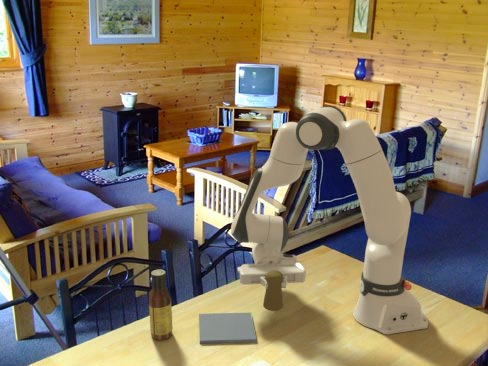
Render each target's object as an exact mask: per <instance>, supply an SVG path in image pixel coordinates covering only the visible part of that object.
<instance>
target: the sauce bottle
mask: <svg viewBox="0 0 488 366" xmlns="http://www.w3.org/2000/svg"><path fill="white" fill-rule="evenodd" d="M166 273H167V272H166V271H165V270H164V269H155V270H152V271H151V273H150V277H151V283H152V285H151V286H152V287H151V290H150V291H149V294H148V311H149V324H150V325H149V328H150V335H151V337H152V338H153V339H155V340H158V341H163V340H167V339H169V338H171V336H172V335H173V311H172V296H171V294H170V291H169V289H168V286H167V284H166V277H167V274H166Z"/></svg>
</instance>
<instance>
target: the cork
mask: <svg viewBox="0 0 488 366" xmlns="http://www.w3.org/2000/svg"><path fill="white" fill-rule="evenodd" d="M282 281H283V274H282V273H281V272H279V271H276V270H272V271H269V272H268V273H267V274H266V282H267V283H268V287H267V289H265V293H264V299H263V303H262V306H263V308H264V309H265V310H266V311H271V312H273V311H274V312H277V311H281V310H282V309H283V308H284V301H283V300H284V299H283V290H282V289H283V288H281V283H282Z"/></svg>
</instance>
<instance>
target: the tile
mask: <svg viewBox="0 0 488 366" xmlns="http://www.w3.org/2000/svg"><path fill="white" fill-rule="evenodd" d="M198 329H199V332H198V333H199V345H201V344H202V345H205V344H206V345H207V344H233V343H235V344H237V343H238V344H239V343H257V335H256V331H255V325H254V320H253V315H252V312H216V313H212V312H211V313H199V314H198Z"/></svg>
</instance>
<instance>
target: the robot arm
mask: <svg viewBox="0 0 488 366" xmlns="http://www.w3.org/2000/svg"><path fill="white" fill-rule="evenodd" d="M334 148H337V150H338V151H340V154H341V155H342V158H343V161H344V163H345V166H346V168H347V170H348V173H349V175H350V177H351V180H352V183H353V184H354V188H355V190H356V193H357V198H358V202H359V207H360V210H361V215H362V217H363V221H364V228H365V233H366V235H367V238H368V239H367V242H366V247H365V254H364V261H363V262H364V263H363V270H362V272H361V277H360V282H359V296H358V300H357V303H356V306H355V308H354V310H353V312H352V314H353V317H354V319H355V320H356V321H357V322H358V323H360V324H361V325H363V326H365V327H367V328H369V329H373V330H376V331H378V332H379V333H381V334H384V335H392V334H398V333H400V334H401V333H405V332H411V331H417V330H424V329H425V330H426V329H427V328H429V318H428V317H427V315H426V313H425V312H424V311H423V310H422V306H421V303H420V301H419V300H418V298H417V297H416V295H414V294H413V293H412V292H411V291H410V290H411V289H412V287H413V286H412V284H411V283H410V282H409V281H407V280H406V278H405V277H404V276H402V269H403V263H404V256H405V255H404V254H405V249H406V244H407V240H408V239H407V238H408V233H409V227H410V220H411V215H412V207H411V203H410V201H409V199H408V197H406V195H405V194H403V193H402V192H399V191H397V190H396V186H395V182H394V178H393V175H394V174H393V172H392V170H391V168H390V165H389V162H388V161H387V157H386V156H385V153H384V151H383V148H382V145H381V144H380V141H379V139H378V137H377V136H376V133H375V132H374V131H373V129H372V128H371V126H370V124H369V123H368V122H367V121H366V120H365V119H361V118H353V119H350V120H347V117H346V115H345V113H344V111H343V110H342V109H340V108H339V107H337V106H334V105H324V106H322V107H317V108H315V109H313V110H311V111H309V112H308V113H307V114H304V115H303V116H302V117H301V118H300V120H299V121H298V122H296V121H287V122H284V123H282V124H281V125H280V126H279V127H278V130H277V132H276V133H275V136H274V139H273V143H272V146H271V148H270V149H271V150H270V153H269V157H268V158H267V160H266V162H265V163H264V164H263V165H262V167H259V168H256V170H255V171H254V173H253V174H252V176H251V179H250V181H249V183H248V186H247V187H246V191H245V192H244V196H243V198H242V199H241V203H240V206H239V207H238V210H237V212H236V214H235V216H234V217H233V220H232V222H231V227H230V230H231V231H230V233H231V236H232V237H233V238H234V240H236V241H237V242H238V243H242V244H243V243H245V244H249V243H252V245H251V253H252V254H251V255H252V259H253V261H254V263H244V264H241V266H237V273H239V283H240V284H241V285H244V286H245V285H261V286H263V287H264V288H265V290H266V289H267V287H268V283H267V282H266V274H267V273H268V272H269V271H272V270H276V271H279V272H281V273H282V274H283V281H282V283H281V288H282V289H286V288H287V285H288V284H291V283H293V284H294V283H295V284H296V283H304V282H306V279H307V277H306V276H307V272H306V268H305V267H304V265H303V264H302V262H301V261H299V260H298V257H297V255H295V254H288V253H283V252H282V251H284V249H285V248H286V247H287V243H288V240H289V235H290V234H289V233H290V232H289V226H288V224H287V222H286V220H285V219H284V217H282V216H278V215H271V214H270V215H269V214H261V213H254V209H255V207H256V205H257V202H258V200H259V197H260V196H261V195H262V194H263V193H264V192H266V191H268V190H271V189H275V188H279V187H286V186H289V185H291V184H294V182H296V181H297V180H299V178H300V177H301V175H302V173H303V170H304V167H305V164H306V159H307V155H308V152H309V150H310V151H311V150H313V151H317V150H319V151H320V150H332V149H334Z"/></svg>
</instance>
